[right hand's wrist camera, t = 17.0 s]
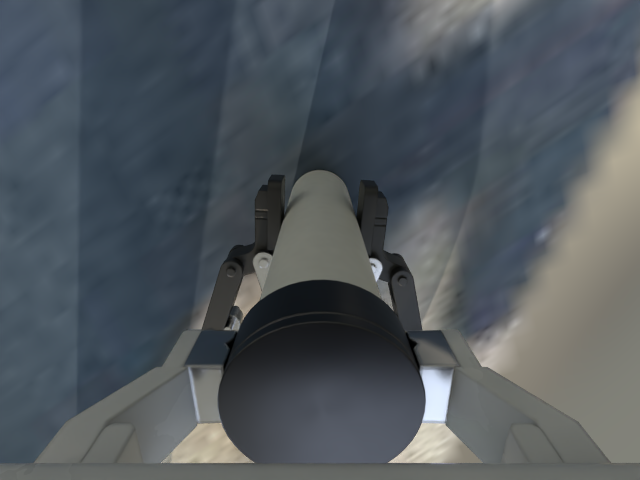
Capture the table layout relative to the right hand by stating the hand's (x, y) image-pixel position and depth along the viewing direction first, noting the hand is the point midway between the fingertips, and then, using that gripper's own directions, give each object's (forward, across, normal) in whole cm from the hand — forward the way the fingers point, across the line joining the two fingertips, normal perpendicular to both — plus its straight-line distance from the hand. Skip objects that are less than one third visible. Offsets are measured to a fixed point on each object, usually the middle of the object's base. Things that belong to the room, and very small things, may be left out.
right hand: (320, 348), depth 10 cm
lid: (-2, 0, 0) cm, 2 cm away
